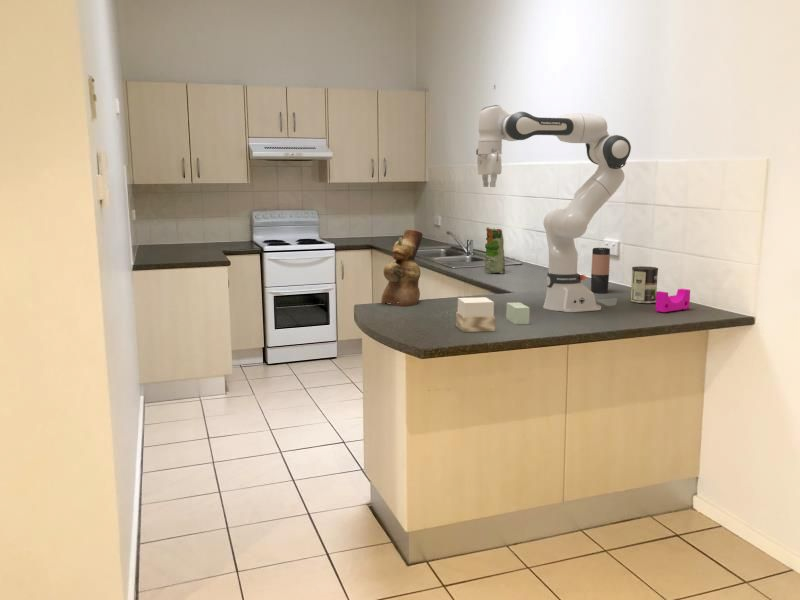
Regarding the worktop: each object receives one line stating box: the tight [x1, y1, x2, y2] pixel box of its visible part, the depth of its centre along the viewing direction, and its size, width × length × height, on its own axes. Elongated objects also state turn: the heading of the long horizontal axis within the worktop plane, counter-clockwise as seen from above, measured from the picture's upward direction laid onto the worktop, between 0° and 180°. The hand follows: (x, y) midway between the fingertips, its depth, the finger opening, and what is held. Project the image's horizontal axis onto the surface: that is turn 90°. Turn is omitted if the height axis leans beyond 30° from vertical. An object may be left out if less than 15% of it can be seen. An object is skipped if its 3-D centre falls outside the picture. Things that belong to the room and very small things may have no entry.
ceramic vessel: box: [380, 229, 423, 307], centre depth 287 cm, size 16×22×30 cm
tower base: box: [455, 311, 496, 333], centre depth 240 cm, size 11×11×5 cm
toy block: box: [655, 288, 691, 313], centre depth 275 cm, size 15×6×8 cm, turn 120°
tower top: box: [457, 296, 495, 318], centre depth 239 cm, size 10×10×5 cm
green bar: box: [505, 302, 531, 325], centre depth 251 cm, size 5×11×6 cm, turn 8°
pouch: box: [484, 227, 506, 275], centre depth 376 cm, size 11×12×25 cm
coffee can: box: [630, 265, 659, 304], centre depth 291 cm, size 10×10×14 cm
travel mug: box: [590, 247, 611, 295], centre depth 312 cm, size 8×8×20 cm
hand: (489, 187), depth 266 cm, fingers open, 8 cm apart
